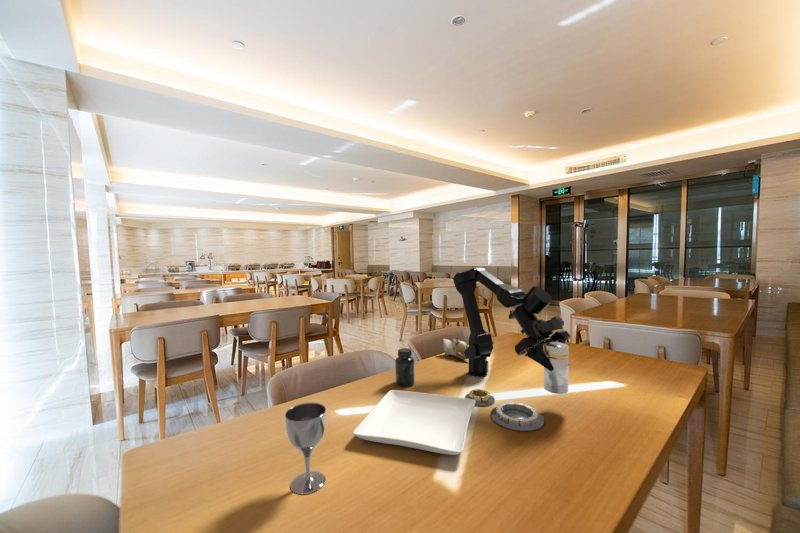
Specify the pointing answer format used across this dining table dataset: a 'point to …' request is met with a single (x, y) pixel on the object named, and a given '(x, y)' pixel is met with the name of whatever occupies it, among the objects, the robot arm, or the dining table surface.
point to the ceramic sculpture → (455, 347)
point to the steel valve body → (556, 367)
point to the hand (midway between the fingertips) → (560, 368)
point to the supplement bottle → (404, 368)
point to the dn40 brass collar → (481, 397)
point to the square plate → (419, 421)
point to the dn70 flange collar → (517, 417)
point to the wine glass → (306, 442)
